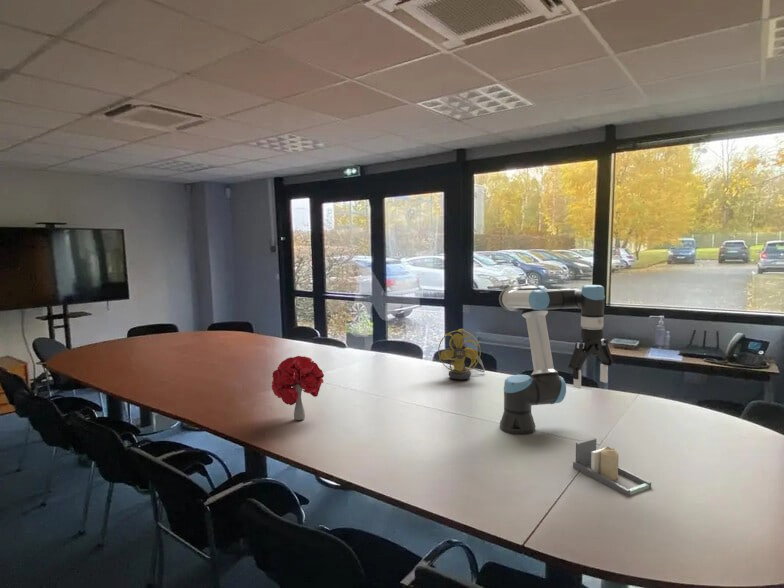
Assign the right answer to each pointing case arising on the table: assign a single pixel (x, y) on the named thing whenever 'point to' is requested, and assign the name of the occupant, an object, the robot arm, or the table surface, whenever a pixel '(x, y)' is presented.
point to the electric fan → (460, 355)
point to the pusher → (596, 460)
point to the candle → (609, 463)
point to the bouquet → (297, 382)
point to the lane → (584, 459)
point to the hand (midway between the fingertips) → (590, 384)
